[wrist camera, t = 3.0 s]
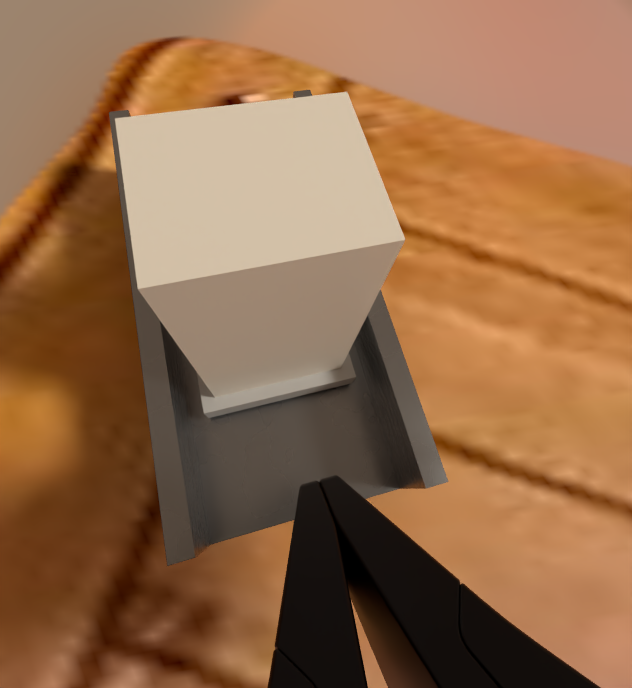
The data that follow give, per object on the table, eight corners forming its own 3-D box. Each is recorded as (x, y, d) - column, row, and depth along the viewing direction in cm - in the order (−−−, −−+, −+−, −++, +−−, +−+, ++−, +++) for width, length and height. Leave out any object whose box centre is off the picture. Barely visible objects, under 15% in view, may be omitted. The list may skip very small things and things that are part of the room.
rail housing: (410, 483, 17) (448, 481, 13) (195, 546, 15) (167, 566, 12) (305, 156, 22) (310, 89, 19) (139, 179, 21) (108, 112, 17)
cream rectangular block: (352, 383, 17) (438, 257, 8) (208, 418, 16) (110, 321, 7) (320, 280, 18) (361, 74, 9) (188, 306, 17) (87, 102, 8)
